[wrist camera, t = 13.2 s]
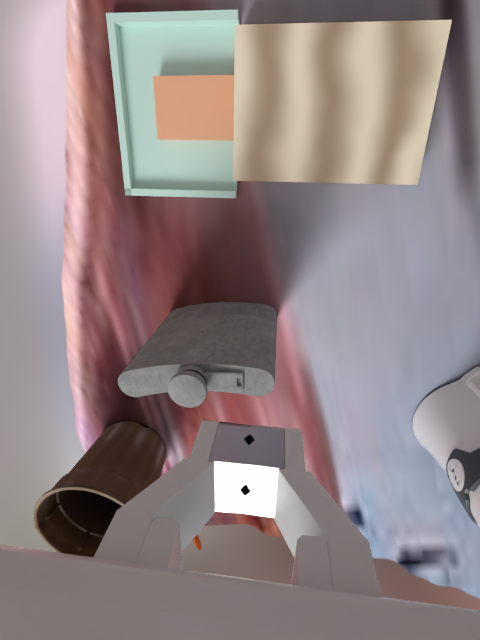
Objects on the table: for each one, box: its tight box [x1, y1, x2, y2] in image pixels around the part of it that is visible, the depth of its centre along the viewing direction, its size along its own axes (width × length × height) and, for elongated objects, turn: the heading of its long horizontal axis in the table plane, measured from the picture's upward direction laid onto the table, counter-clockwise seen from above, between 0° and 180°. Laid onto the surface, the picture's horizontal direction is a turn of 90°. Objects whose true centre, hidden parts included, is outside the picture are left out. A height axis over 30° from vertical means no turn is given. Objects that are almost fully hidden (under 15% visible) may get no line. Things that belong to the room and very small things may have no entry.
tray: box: [106, 10, 240, 198], centre depth 39 cm, size 14×18×2 cm
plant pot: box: [33, 421, 166, 557], centre depth 54 cm, size 16×16×16 cm
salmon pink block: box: [153, 75, 234, 141], centre depth 38 cm, size 9×6×2 cm, turn 89°
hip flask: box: [118, 302, 277, 408], centre depth 40 cm, size 16×4×20 cm, turn 95°
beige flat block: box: [233, 20, 452, 185], centre depth 36 cm, size 20×14×4 cm
